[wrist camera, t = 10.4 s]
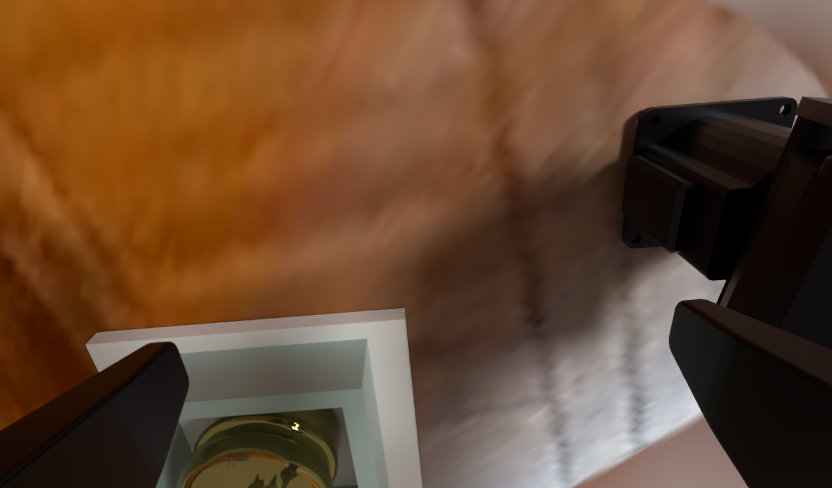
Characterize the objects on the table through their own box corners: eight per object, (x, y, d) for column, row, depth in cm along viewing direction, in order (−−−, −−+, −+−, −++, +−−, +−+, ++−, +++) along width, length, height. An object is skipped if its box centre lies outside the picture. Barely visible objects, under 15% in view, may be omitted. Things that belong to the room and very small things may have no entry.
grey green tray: (404, 307, 23) (405, 367, 19) (422, 486, 29) (426, 560, 25) (97, 332, 23) (33, 396, 19) (178, 505, 30) (144, 581, 25)
